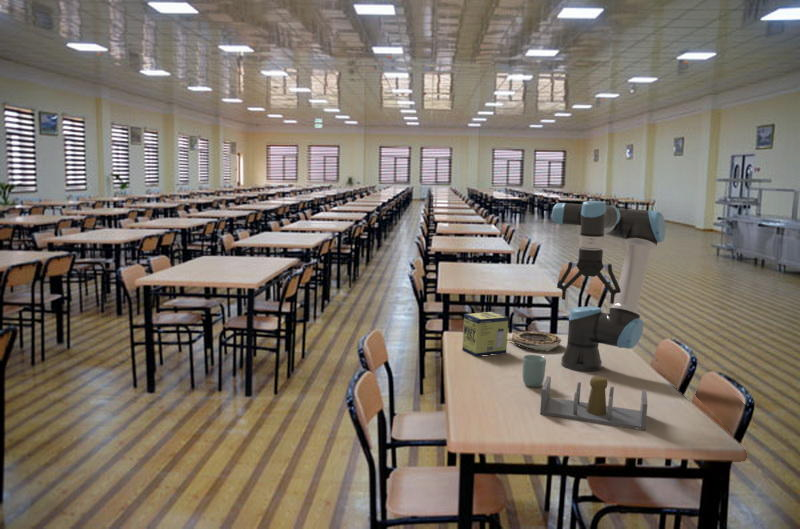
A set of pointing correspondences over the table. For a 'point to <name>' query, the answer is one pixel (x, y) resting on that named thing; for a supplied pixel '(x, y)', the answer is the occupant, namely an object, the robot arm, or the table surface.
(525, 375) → the cup
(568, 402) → the rack
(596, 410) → the cork
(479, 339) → the protein box
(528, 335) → the pie
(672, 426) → the table surface
